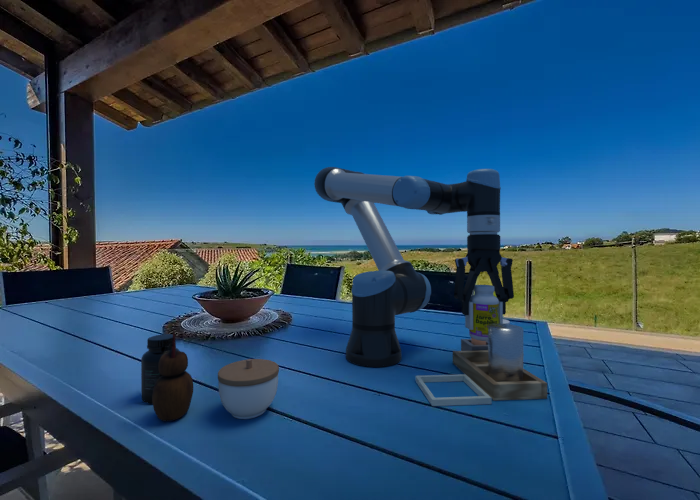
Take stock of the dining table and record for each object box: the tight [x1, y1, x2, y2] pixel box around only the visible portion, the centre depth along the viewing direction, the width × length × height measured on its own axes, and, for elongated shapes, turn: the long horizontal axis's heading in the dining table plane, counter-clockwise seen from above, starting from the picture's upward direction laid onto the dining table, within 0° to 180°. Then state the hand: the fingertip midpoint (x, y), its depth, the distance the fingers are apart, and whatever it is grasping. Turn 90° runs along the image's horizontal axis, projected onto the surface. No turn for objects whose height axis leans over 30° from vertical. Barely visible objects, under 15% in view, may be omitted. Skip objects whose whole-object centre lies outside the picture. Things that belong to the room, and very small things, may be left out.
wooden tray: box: [452, 350, 548, 401], centre depth 74 cm, size 11×21×3 cm, turn 4°
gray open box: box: [460, 338, 488, 351], centre depth 89 cm, size 7×7×4 cm
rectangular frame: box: [415, 373, 493, 407], centre depth 67 cm, size 12×12×1 cm
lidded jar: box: [217, 358, 280, 420], centre depth 59 cm, size 11×11×9 cm
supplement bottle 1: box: [140, 333, 180, 405], centre depth 65 cm, size 7×7×12 cm
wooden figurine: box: [152, 329, 194, 422], centre depth 57 cm, size 7×6×15 cm
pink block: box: [470, 337, 486, 345], centre depth 89 cm, size 4×4×5 cm
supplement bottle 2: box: [468, 284, 499, 341], centre depth 79 cm, size 7×7×13 cm
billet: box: [488, 323, 524, 382], centre depth 69 cm, size 7×7×12 cm
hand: (483, 327), depth 79 cm, fingers closed on supplement bottle 2, 7 cm apart
